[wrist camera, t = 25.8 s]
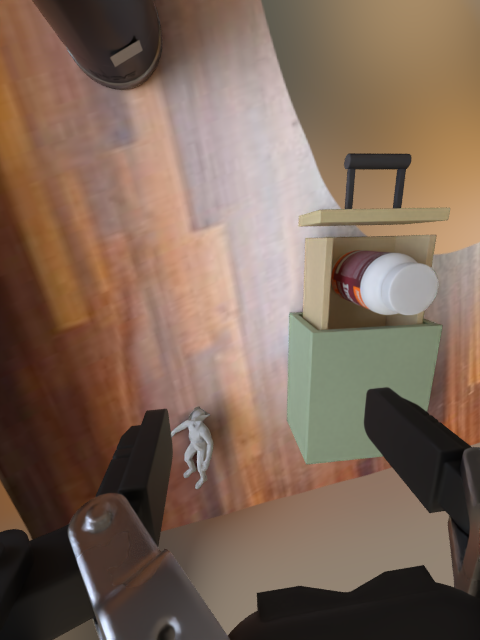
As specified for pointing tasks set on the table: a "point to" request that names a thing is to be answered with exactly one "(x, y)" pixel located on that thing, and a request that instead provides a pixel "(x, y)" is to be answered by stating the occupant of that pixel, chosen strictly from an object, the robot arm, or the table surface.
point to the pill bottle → (384, 282)
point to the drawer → (361, 248)
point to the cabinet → (352, 381)
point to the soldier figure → (197, 444)
